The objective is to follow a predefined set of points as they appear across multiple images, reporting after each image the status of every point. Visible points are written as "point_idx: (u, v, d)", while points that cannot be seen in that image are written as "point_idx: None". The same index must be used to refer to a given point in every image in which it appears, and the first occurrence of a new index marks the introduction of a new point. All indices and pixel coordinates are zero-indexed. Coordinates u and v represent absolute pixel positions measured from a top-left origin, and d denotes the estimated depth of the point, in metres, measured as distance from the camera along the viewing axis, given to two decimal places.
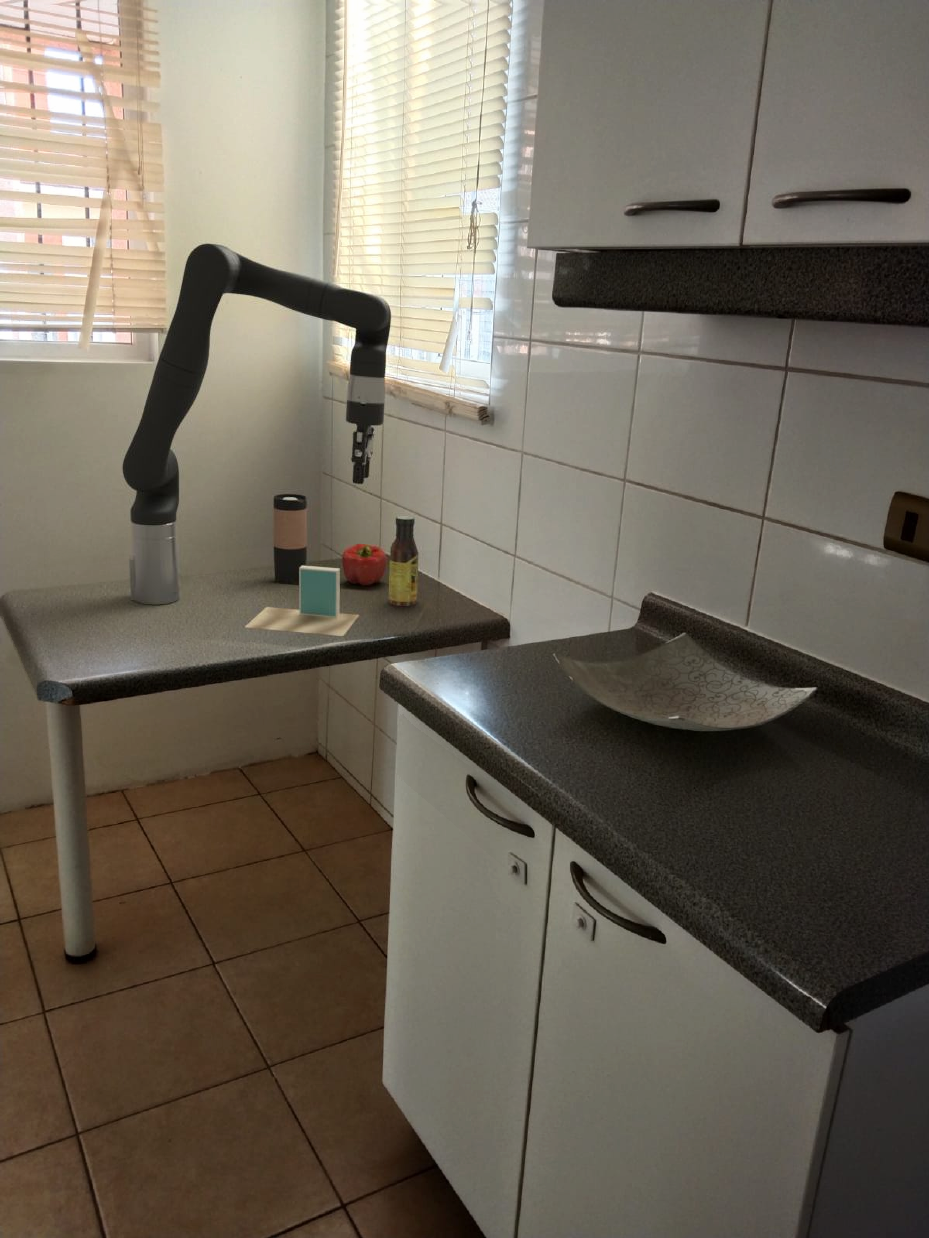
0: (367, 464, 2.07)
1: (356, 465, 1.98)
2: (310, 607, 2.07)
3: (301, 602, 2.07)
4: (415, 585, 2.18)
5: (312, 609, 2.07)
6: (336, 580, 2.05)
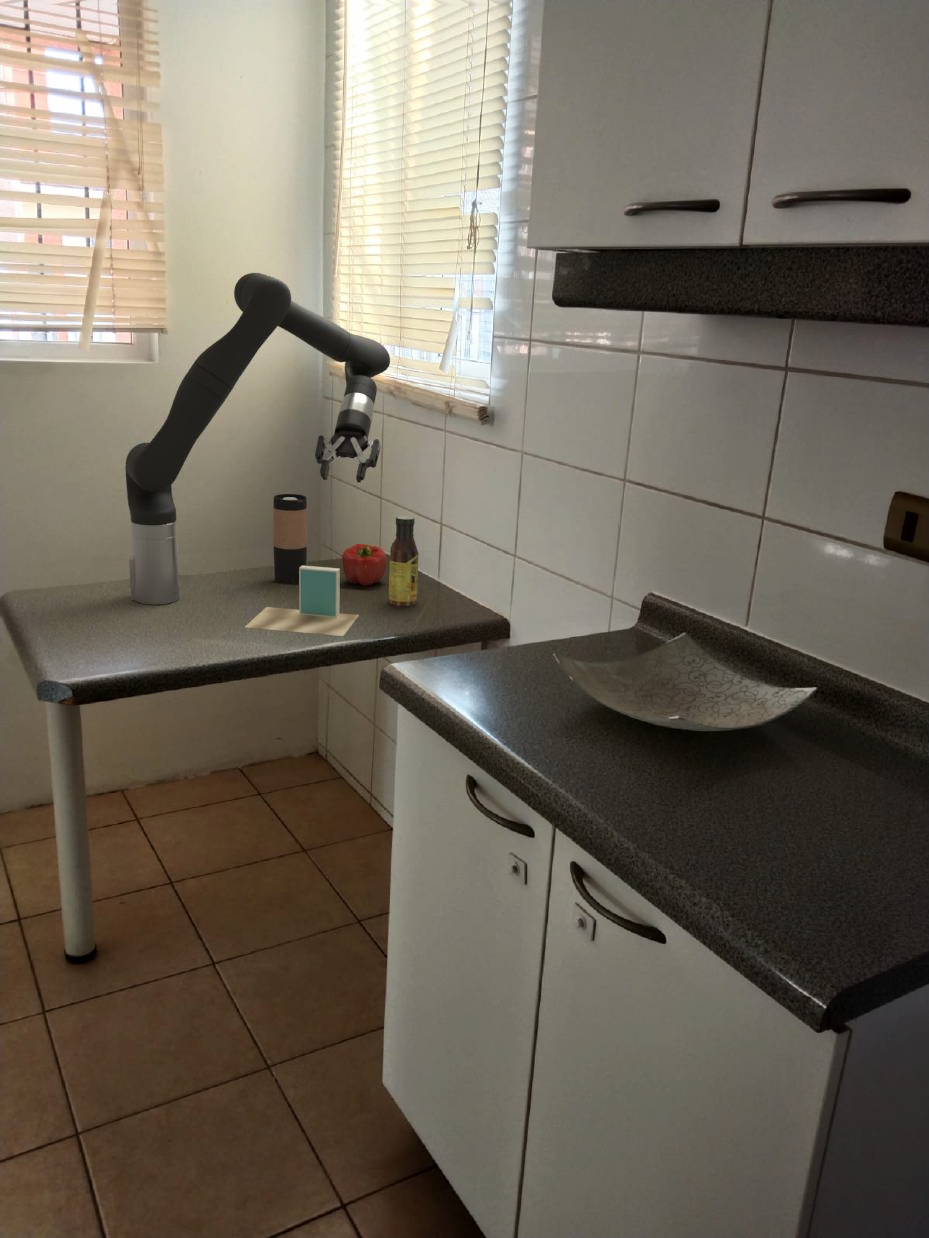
0: (328, 469, 2.19)
1: (366, 465, 2.18)
2: (310, 607, 2.07)
3: (301, 602, 2.07)
4: (415, 585, 2.18)
5: (312, 609, 2.07)
6: (336, 580, 2.05)
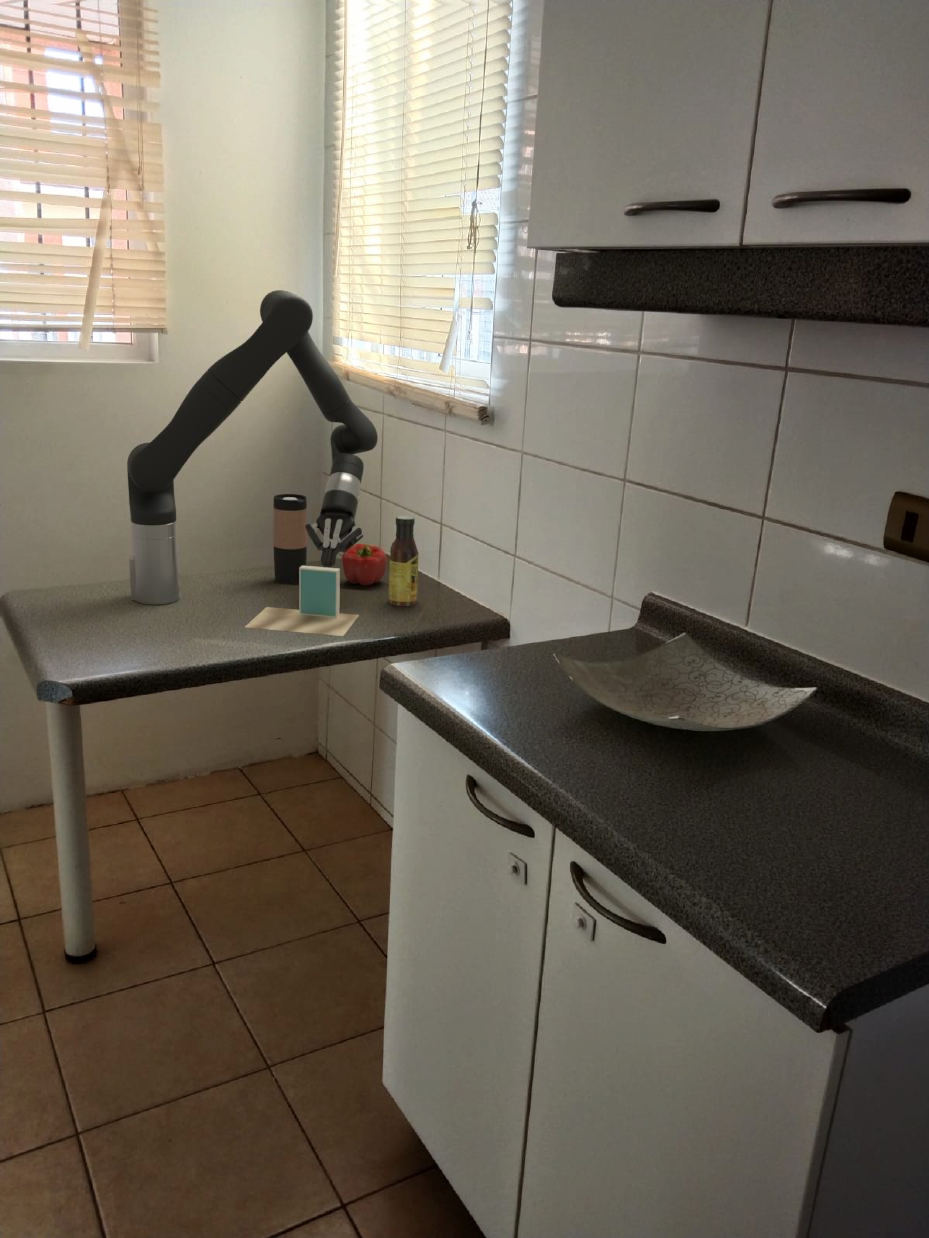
0: None
1: (336, 550, 2.13)
2: (310, 607, 2.07)
3: (301, 602, 2.07)
4: (415, 585, 2.18)
5: (312, 609, 2.07)
6: (336, 580, 2.05)
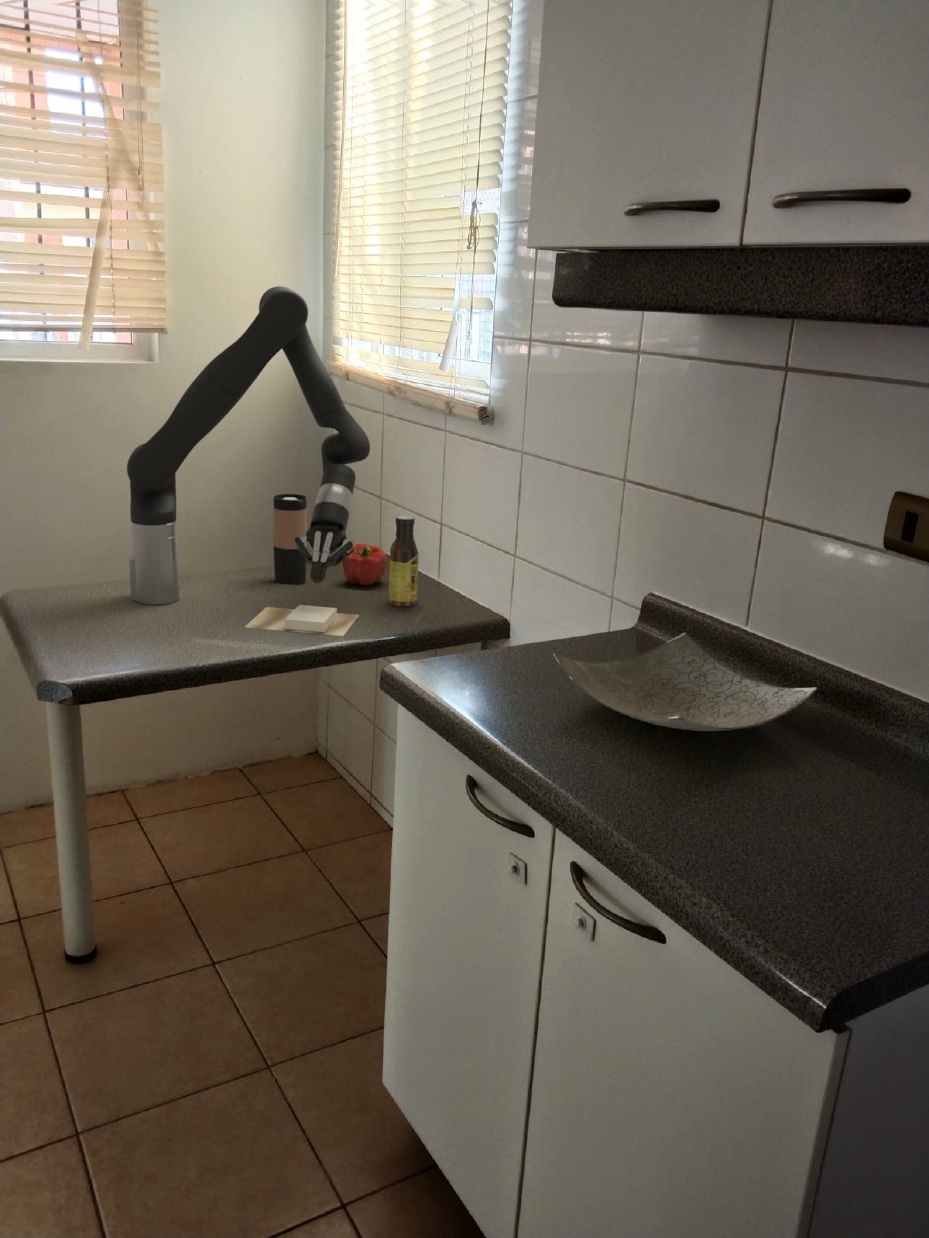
0: None
1: (326, 565, 2.05)
2: None
3: None
4: (415, 585, 2.18)
5: None
6: None
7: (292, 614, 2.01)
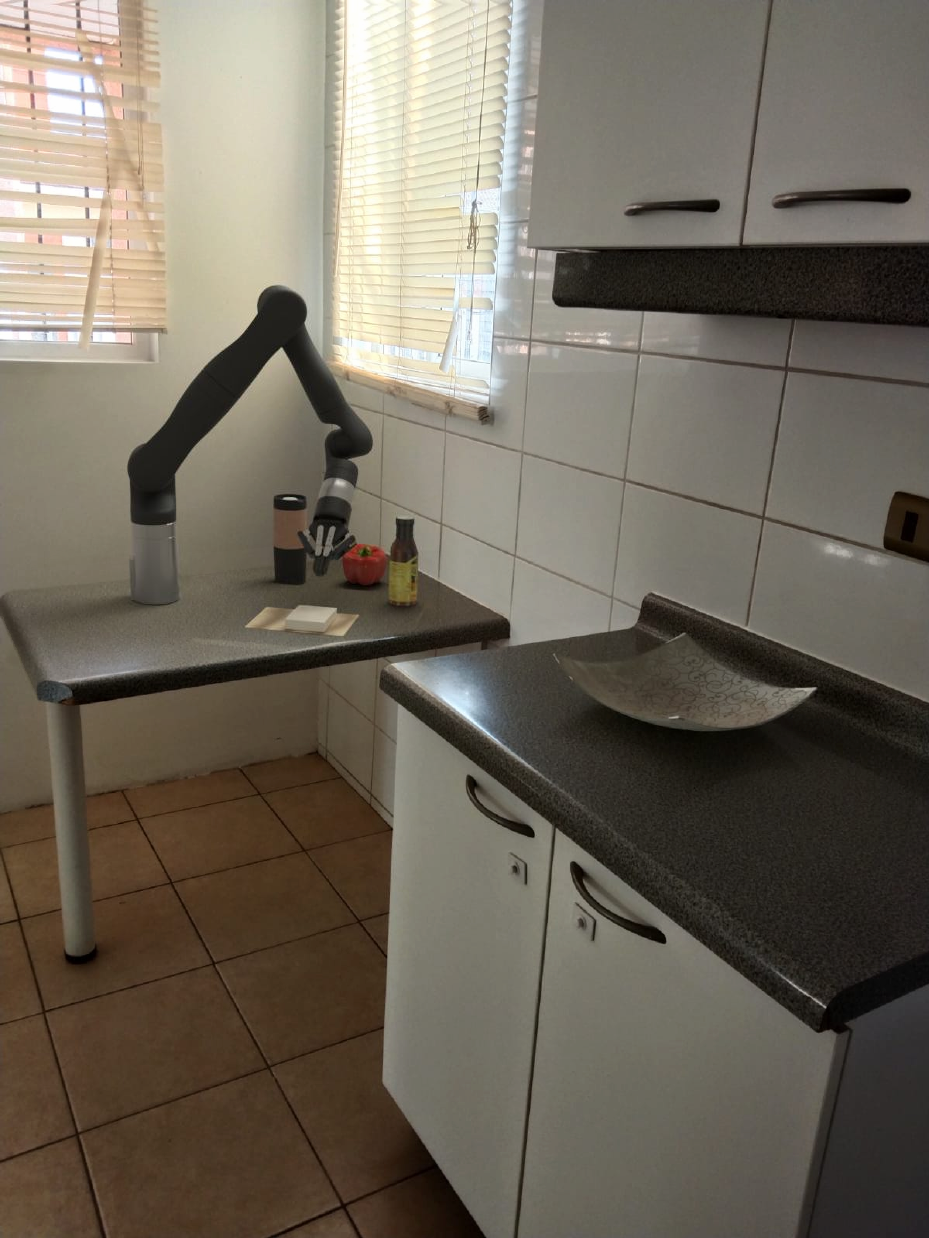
0: None
1: (329, 558, 2.07)
2: None
3: None
4: (415, 585, 2.18)
5: None
6: None
7: (292, 614, 2.01)
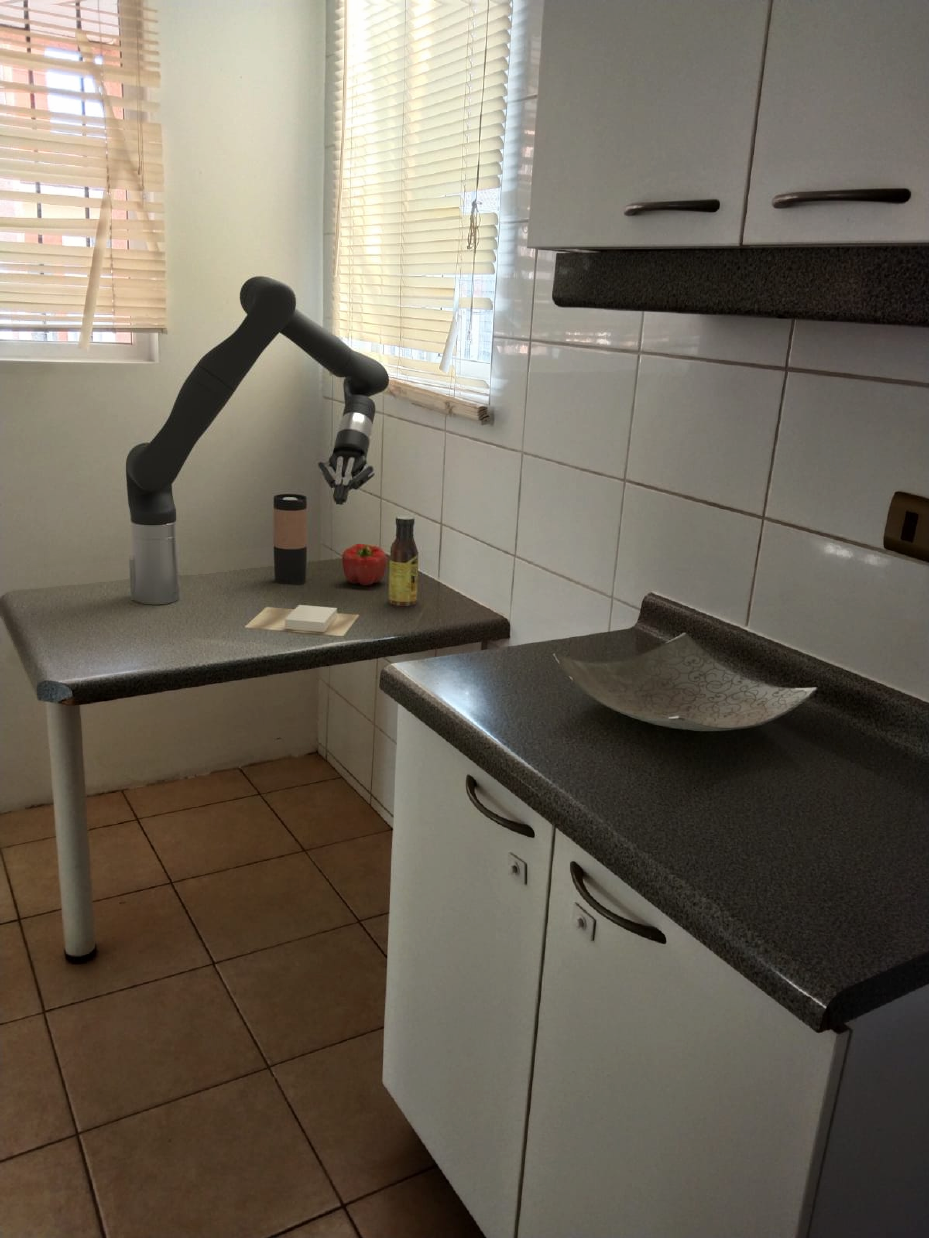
0: None
1: (348, 487, 2.17)
2: None
3: None
4: (415, 585, 2.18)
5: None
6: None
7: (292, 614, 2.01)
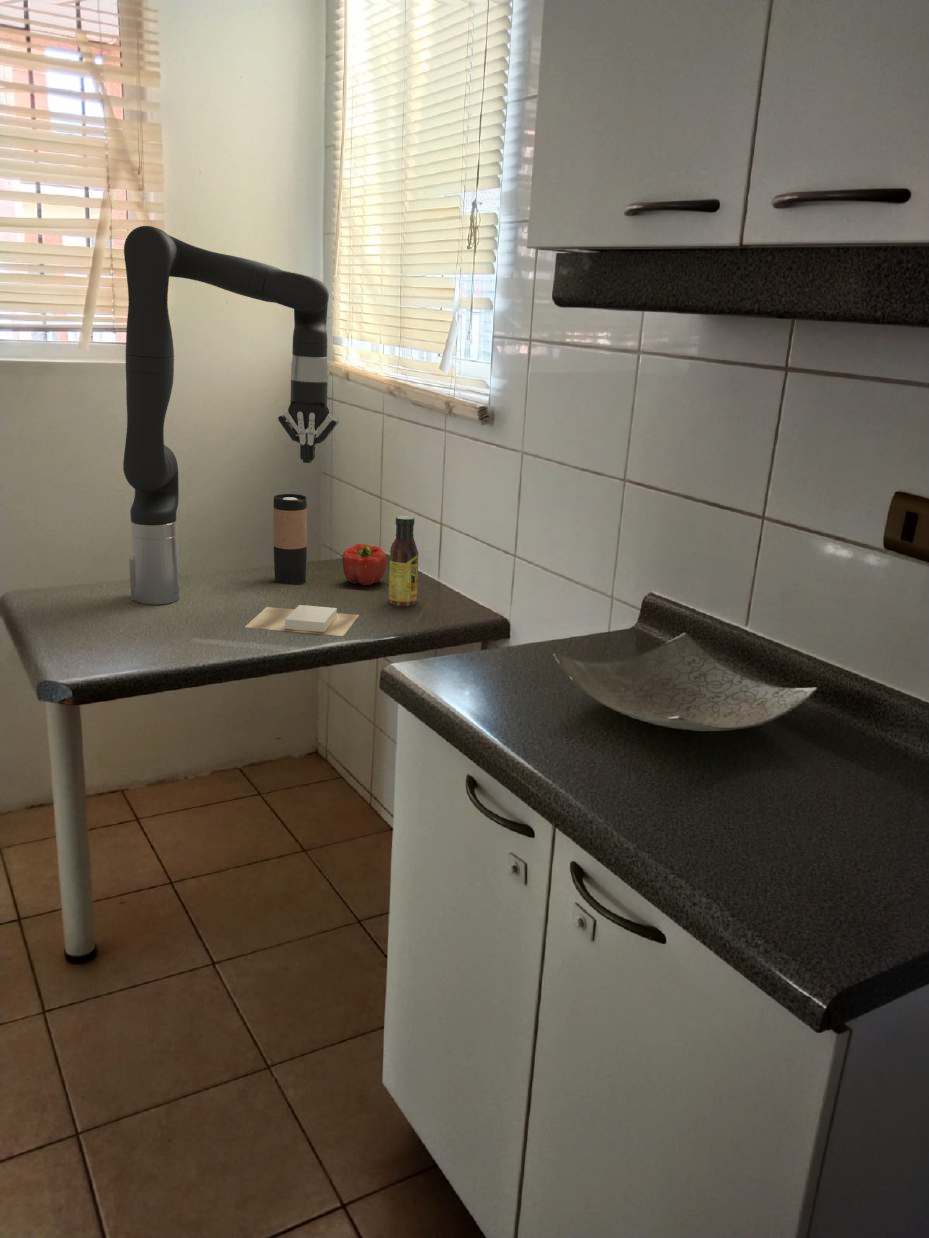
0: None
1: (314, 445, 2.11)
2: None
3: None
4: (415, 585, 2.18)
5: None
6: None
7: (292, 614, 2.01)
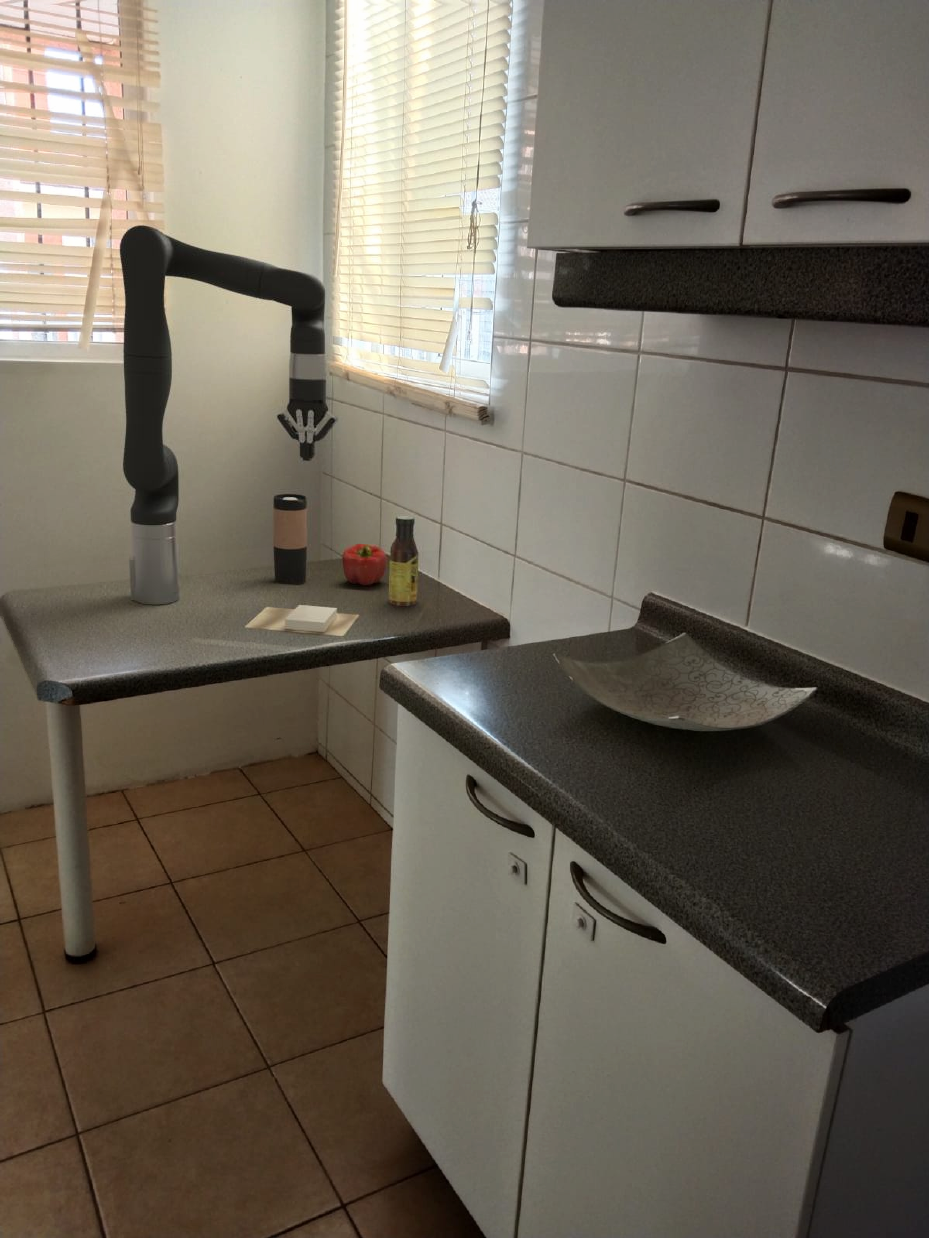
0: None
1: (313, 443, 2.10)
2: None
3: None
4: (415, 585, 2.18)
5: None
6: None
7: (292, 614, 2.01)
